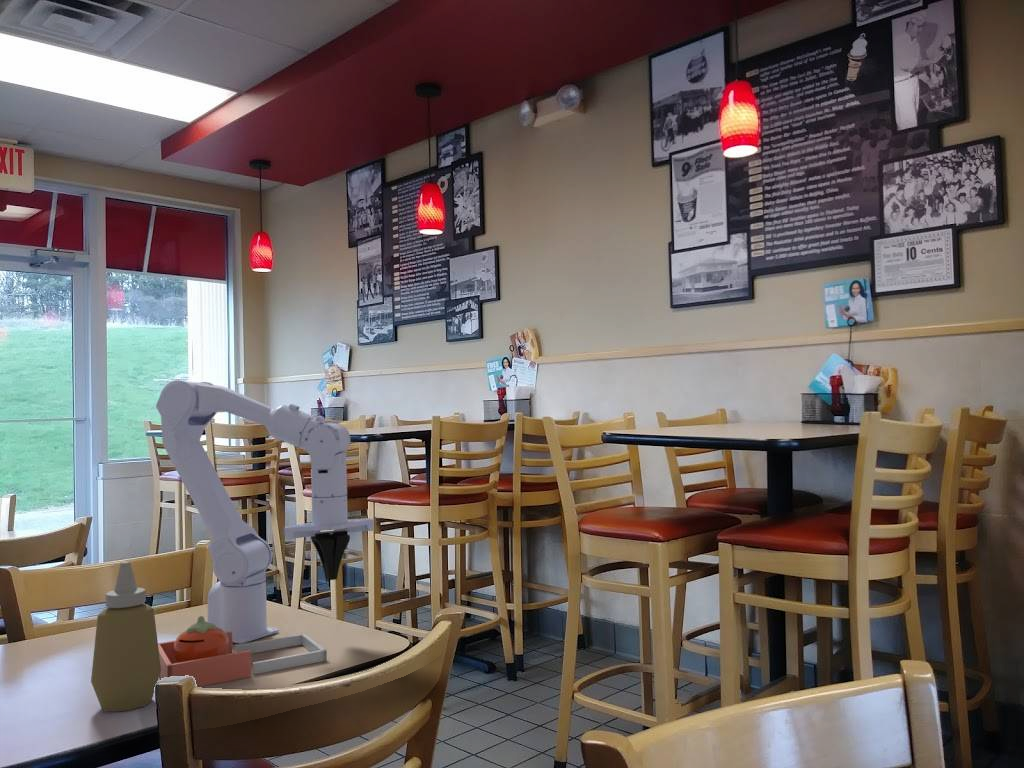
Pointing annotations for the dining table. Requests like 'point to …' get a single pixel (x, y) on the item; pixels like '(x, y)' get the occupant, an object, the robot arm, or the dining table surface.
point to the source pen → (289, 661)
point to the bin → (206, 665)
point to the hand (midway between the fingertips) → (331, 578)
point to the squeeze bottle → (125, 647)
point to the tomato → (200, 642)
